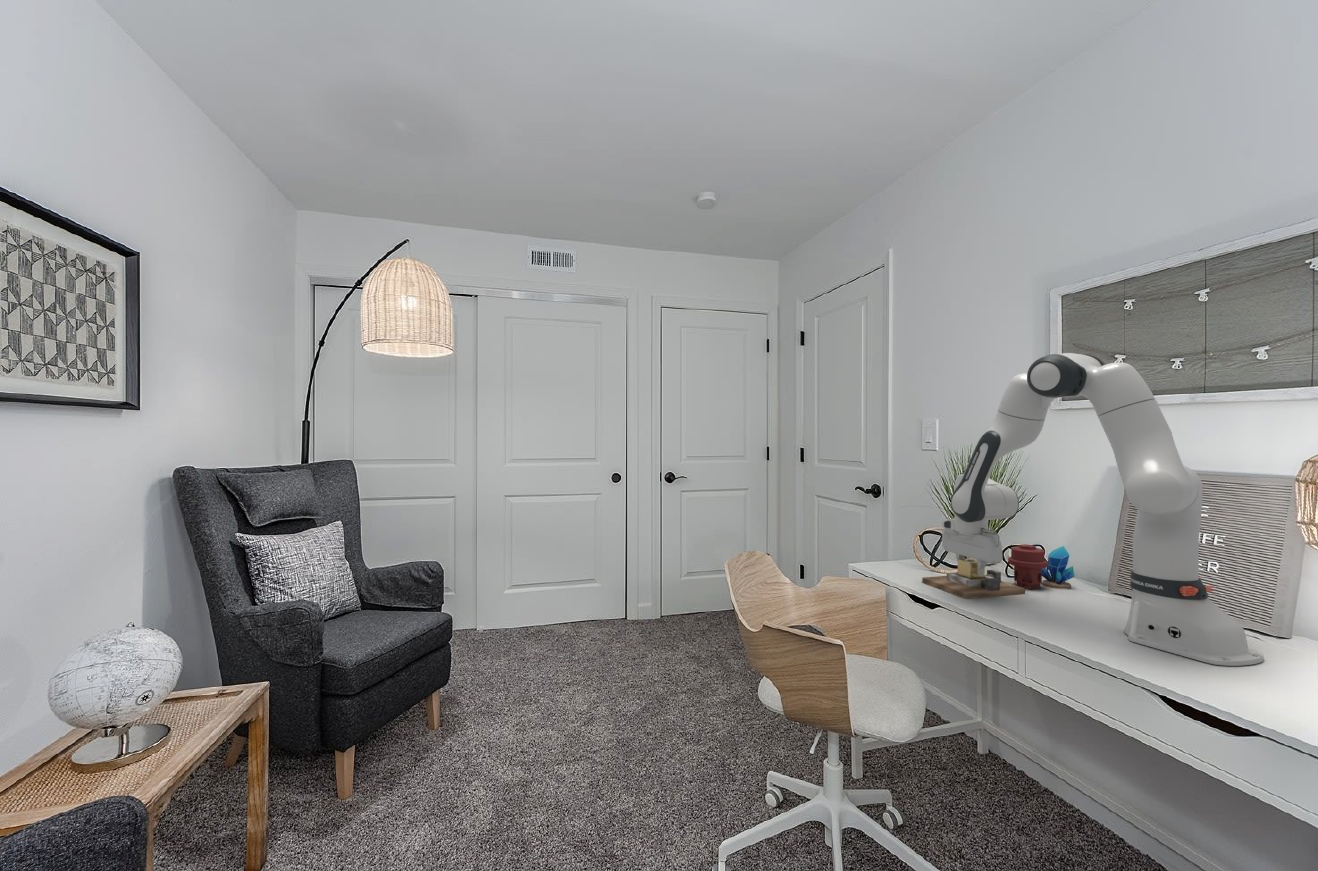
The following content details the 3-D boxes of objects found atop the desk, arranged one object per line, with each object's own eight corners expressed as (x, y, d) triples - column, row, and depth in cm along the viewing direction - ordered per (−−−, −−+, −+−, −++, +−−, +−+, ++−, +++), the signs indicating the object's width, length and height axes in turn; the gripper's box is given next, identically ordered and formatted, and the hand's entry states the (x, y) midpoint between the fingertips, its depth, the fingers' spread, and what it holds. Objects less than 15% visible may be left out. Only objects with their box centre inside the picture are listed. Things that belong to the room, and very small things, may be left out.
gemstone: (1056, 581, 177) (1056, 542, 177) (1078, 589, 168) (1078, 548, 168) (1033, 582, 176) (1033, 543, 176) (1054, 589, 168) (1054, 548, 168)
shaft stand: (1025, 593, 164) (1025, 577, 164) (965, 598, 160) (965, 582, 160) (977, 578, 182) (977, 564, 182) (922, 582, 177) (922, 567, 177)
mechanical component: (1034, 592, 165) (1000, 584, 174) (1055, 588, 169) (1021, 580, 178) (1034, 550, 165) (1000, 544, 174) (1055, 546, 169) (1021, 541, 178)
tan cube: (984, 578, 169) (984, 561, 169) (970, 579, 168) (970, 562, 168) (971, 574, 174) (971, 558, 174) (957, 575, 172) (957, 559, 172)
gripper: (1008, 531, 161) (1008, 580, 161) (955, 520, 181) (955, 563, 181) (989, 532, 160) (989, 581, 160) (938, 521, 180) (938, 565, 180)
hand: (971, 572), depth 171 cm, fingers closed on tan cube, 5 cm apart
